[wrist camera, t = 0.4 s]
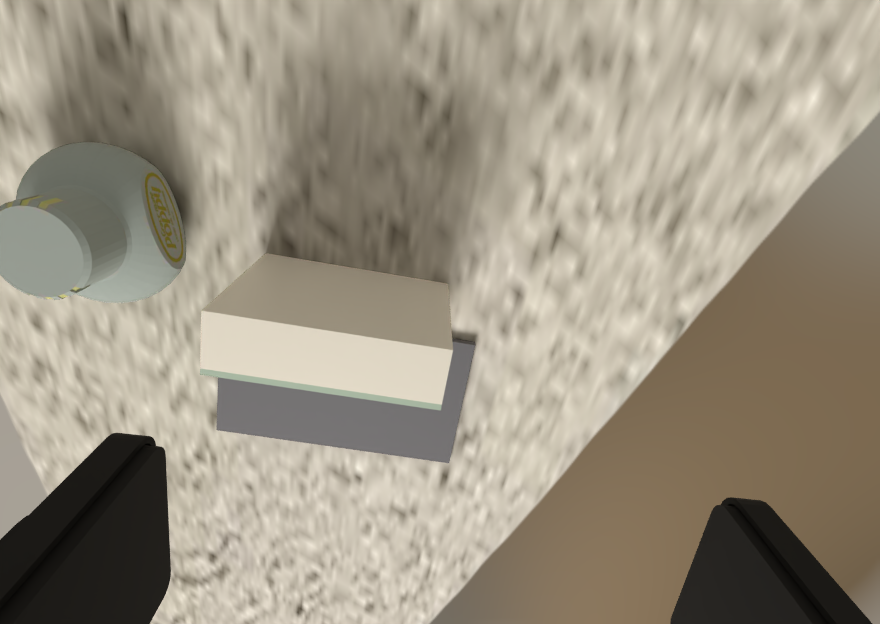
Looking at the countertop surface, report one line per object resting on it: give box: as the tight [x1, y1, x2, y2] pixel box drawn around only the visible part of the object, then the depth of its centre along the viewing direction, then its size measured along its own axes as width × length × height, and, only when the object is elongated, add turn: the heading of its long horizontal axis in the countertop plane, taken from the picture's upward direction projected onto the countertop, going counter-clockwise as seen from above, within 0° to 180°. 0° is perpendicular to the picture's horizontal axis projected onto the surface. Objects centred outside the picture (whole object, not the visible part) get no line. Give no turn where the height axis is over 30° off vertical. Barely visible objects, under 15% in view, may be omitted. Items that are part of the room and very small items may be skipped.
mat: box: [217, 339, 475, 463], centre depth 44 cm, size 12×20×1 cm, turn 80°
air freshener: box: [0, 142, 186, 303], centre depth 35 cm, size 11×8×10 cm
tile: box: [200, 253, 453, 411], centre depth 36 cm, size 4×14×12 cm, turn 80°
